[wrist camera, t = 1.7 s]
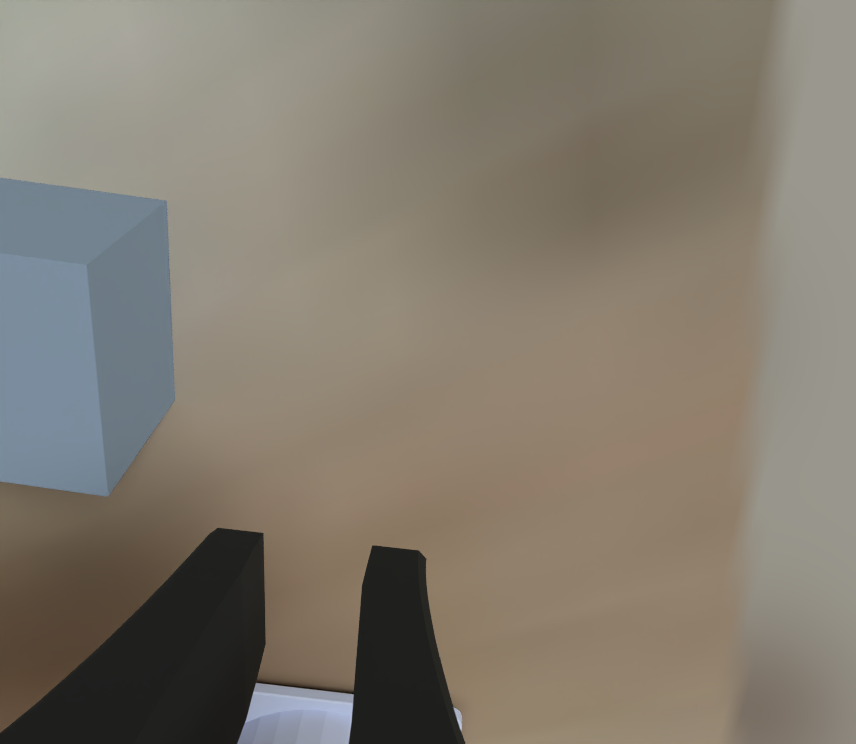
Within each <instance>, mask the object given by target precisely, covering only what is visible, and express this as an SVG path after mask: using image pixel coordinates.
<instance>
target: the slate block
mask: <svg viewBox="0 0 856 744" xmlns="http://www.w3.org/2000/svg"><path fill="white" fill-rule="evenodd" d="M174 400H175V391H174V367H173V342H172V318H171V293H170V269H169V245H168V220H167V201H165V200H158V199H150V198H143V197H136V196H129V195H121V194H114V193H107V192H100V191H92V190H85V189H78V188H71V187H63V186H56V185H49V184H42V183H34V182H27V181H20V180H13V179H5V178H0V482H7V483H15V484H22V485H29V486H36V487H43V488H50V489H57V490H64V491H72V492H79V493H86V494H93V495H100V496H107V497H108V496H109V495H110V493H111V492H112V490H113V489H114V487H115V486H116V485H117V483H118V482H119V480H120V479H121V477H122V476H123V474H124V473H125V471H126V470H127V469H128V467H129V466H130V464H131V463H132V461H133V460H134V458H135V457H136V456H137V454H138V453H139V451H140V450H141V448H142V447H143V445H144V444H145V443H146V441H147V440H148V438H149V437H150V435H151V434H152V432H153V431H154V429H155V428H156V427H157V425H158V424H159V422H160V421H161V419H162V418H163V416H164V415H165V414H166V412H167V411H168V409H169V408H170V406H171V405H172V403H173V402H174Z"/></svg>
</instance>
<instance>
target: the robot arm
mask: <svg viewBox="0 0 856 744" xmlns="http://www.w3.org/2000/svg"><path fill="white" fill-rule="evenodd" d="M265 644H266V643H265V592H264V542H263V533H258V532H249V531H240V530H232V529H223V528H217V529H216V530H214V531H213V532H212V533H210V534H209V535H208V536H207V537H206V539H205V540H204V541H203V542H202V543H201V544H200V545H199V546H198V547H197V548H196V550H195V551H194V552H193V553H192V554H191V555H190V556H189V557H188V558H187V559H186V560H185V561H184V563H183V564H182V565H181V566H180V567H179V568H178V569H177V570H176V571H175V572H174V573H173V574H172V575H171V576H170V577H169V579H168V580H167V581H166V582H165V583H164V584H163V585H162V586H161V587H160V588H159V589H158V590H157V591H156V592H155V593H154V594H153V595H152V596H151V597H150V598H149V599H148V600H147V601H146V602H145V603H144V604H143V605H142V606H141V607H140V608H139V609H138V610H137V611H136V612H135V613H134V614H133V615H132V616H131V617H130V618H129V619H128V620H127V621H126V622H125V623H124V624H123V625H122V626H121V627H120V628H119V629H118V630H117V631H116V632H115V633H114V634H113V635H112V636H111V637H110V638H109V639H107V640H106V641H105V642H104V643H103V644H102V645H101V646H100V647H99V648H98V649H97V650H96V651H95V652H94V653H93V654H92V655H90V656H89V657H88V658H87V659H86V660H85V661H84V662H83V663H81V664H80V665H79V666H78V667H77V668H76V669H75V670H74V671H72V672H71V673H70V674H69V675H68V676H67V677H66V678H65V679H64V680H62V681H61V682H60V683H59V684H58V685H57V686H56V687H55V688H53V689H52V690H51V691H50V692H49V693H48V694H47V695H46V696H44V697H43V698H42V699H41V700H40V701H39V702H38V703H36V704H35V705H34V706H33V707H32V708H30V709H29V710H28V711H27V712H26V713H24V714H23V715H22V716H21V717H20V718H18V719H17V720H16V721H15V722H13V723H12V724H11V725H10V726H9V727H7V728H6V729H5V730H4V731H2V732H1V733H0V744H465V741H464V738H463V735H462V733H461V729H462V714H461V713H460V712H459V710H457V709H456V708H454V707H453V704H452V701H451V698H450V694H449V690H448V687H447V683H446V679H445V675H444V672H443V668H442V664H441V661H440V657H439V653H438V649H437V644H436V640H435V635H434V630H433V625H432V620H431V614H430V609H429V602H428V595H427V585H426V558H425V557H424V556H423V555H422V554H421V553H420V552H419V551H417V550H409V549H400V548H391V547H382V546H373V545H372V549H371V553H370V556H369V560H368V564H367V568H366V572H365V576H364V580H363V584H362V595H361V607H360V620H359V633H358V646H357V659H356V671H355V684H354V694H347V693H339V692H330V691H322V690H313V689H304V688H296V687H287V686H279V685H270V684H262V683H256V680H257V676H258V672H259V668H260V664H261V660H262V656H263V652H264V648H265Z"/></svg>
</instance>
